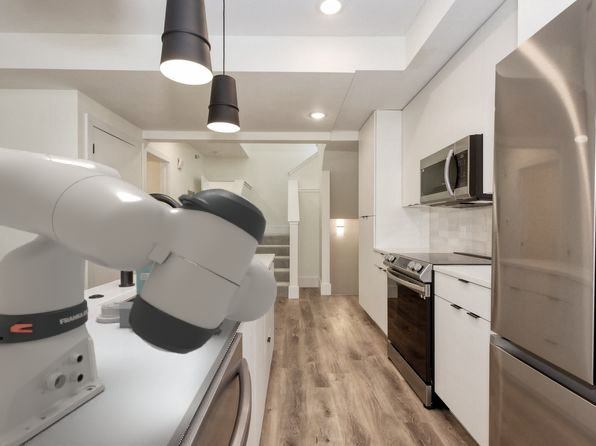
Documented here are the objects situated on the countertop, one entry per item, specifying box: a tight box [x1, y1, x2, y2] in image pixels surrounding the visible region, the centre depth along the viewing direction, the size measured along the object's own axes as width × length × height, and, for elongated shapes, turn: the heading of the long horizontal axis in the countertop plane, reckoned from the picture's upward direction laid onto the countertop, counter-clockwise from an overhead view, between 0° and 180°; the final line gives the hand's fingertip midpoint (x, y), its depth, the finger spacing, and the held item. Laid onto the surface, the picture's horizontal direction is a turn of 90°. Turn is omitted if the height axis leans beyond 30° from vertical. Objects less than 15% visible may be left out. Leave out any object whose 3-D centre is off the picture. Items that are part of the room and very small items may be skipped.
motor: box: [119, 295, 136, 329], centre depth 88 cm, size 14×11×6 cm
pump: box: [135, 262, 155, 295], centre depth 90 cm, size 5×5×12 cm
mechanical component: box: [95, 300, 124, 324], centre depth 93 cm, size 10×4×10 cm
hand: (146, 274), depth 90 cm, fingers closed on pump, 5 cm apart
